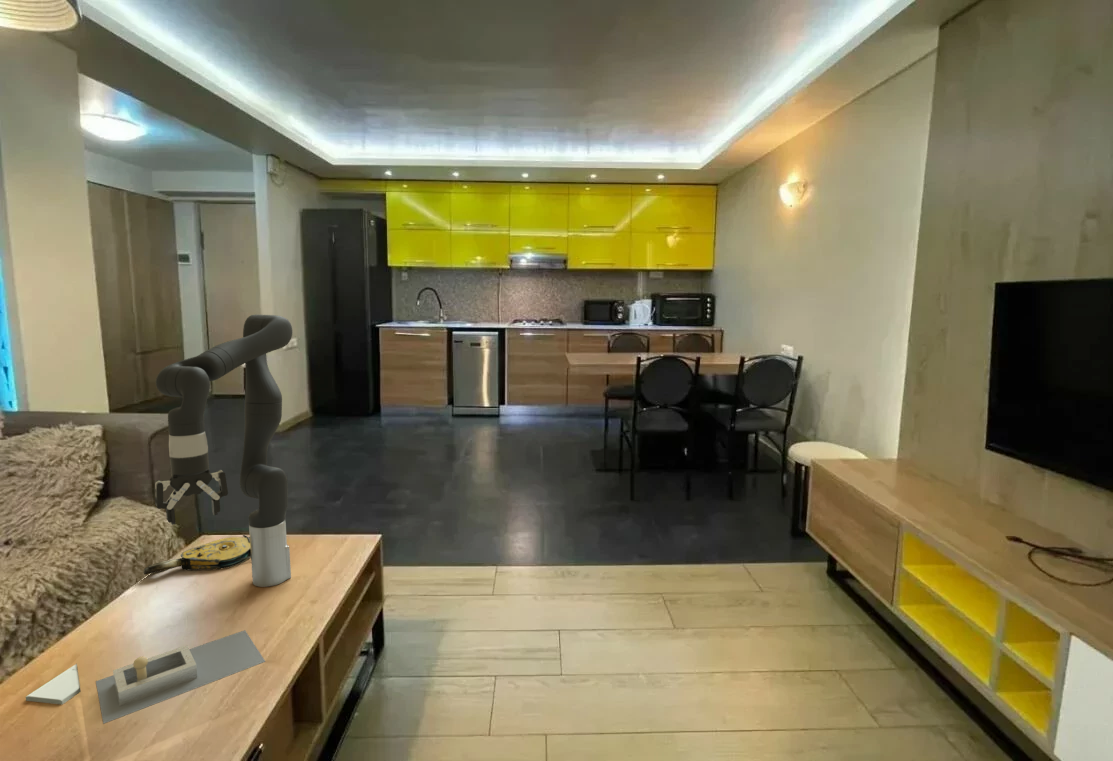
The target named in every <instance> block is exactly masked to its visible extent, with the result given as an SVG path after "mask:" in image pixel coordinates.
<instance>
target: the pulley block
mask: <svg viewBox="0 0 1113 761" xmlns="http://www.w3.org/2000/svg"><path fill="white" fill-rule="evenodd" d="M180 557H181V558H180ZM180 557H179V558H176V559H170V560H164V561H159V562H156V563H153V564H149V565H147V567H145V568H144V569H143V575H147V574H149V575H150V574H154V573H158V572H162V571H163V572H164V571H167V570H168V571H169V570H172V569H176V568H180V567H181V569H182V570H183V571H198V570H199V571H201V570H203V571H205V570H208V571H209V570H210V571H211V570H213V569H216V570H222V569H221V568H223V569H227V568H228V567H229V568H231V567H232V568H233V567H235V566H238V565H240V564H242V563H244V562H246V561H247V560H249V559H251V548H250V536H248V535H246V534H243V535H242V536H241V537H240V536H232V537H225V538H221V539H216V540H213V541H209V542H207V543H205V544H201V545H199V546H194V547H192V548H189V549H186V550H185V551H183V552H182V553H181V554H180ZM237 564H238V565H237ZM234 565H235V566H234Z"/></svg>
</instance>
